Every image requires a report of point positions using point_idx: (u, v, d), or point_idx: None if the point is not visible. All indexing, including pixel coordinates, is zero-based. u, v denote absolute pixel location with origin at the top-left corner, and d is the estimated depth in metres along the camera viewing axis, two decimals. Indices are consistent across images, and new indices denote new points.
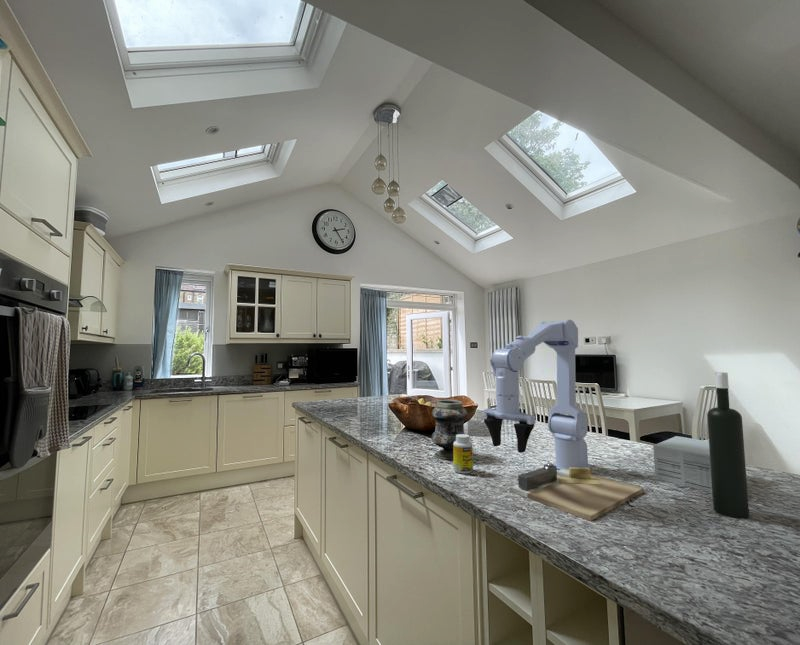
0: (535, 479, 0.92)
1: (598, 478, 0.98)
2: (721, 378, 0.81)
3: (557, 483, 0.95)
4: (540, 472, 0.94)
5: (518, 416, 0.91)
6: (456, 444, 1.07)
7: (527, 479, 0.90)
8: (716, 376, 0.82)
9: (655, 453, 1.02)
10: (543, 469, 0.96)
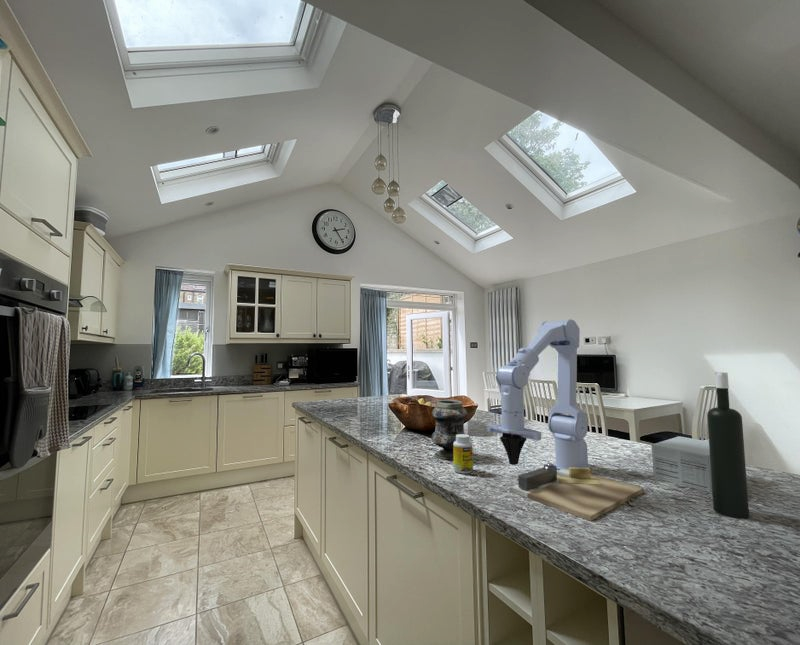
0: (535, 479, 0.92)
1: (598, 478, 0.98)
2: (721, 378, 0.81)
3: (557, 483, 0.95)
4: (540, 472, 0.94)
5: (525, 432, 0.93)
6: (456, 444, 1.07)
7: (527, 479, 0.90)
8: (716, 376, 0.82)
9: (653, 452, 1.02)
10: (543, 469, 0.96)
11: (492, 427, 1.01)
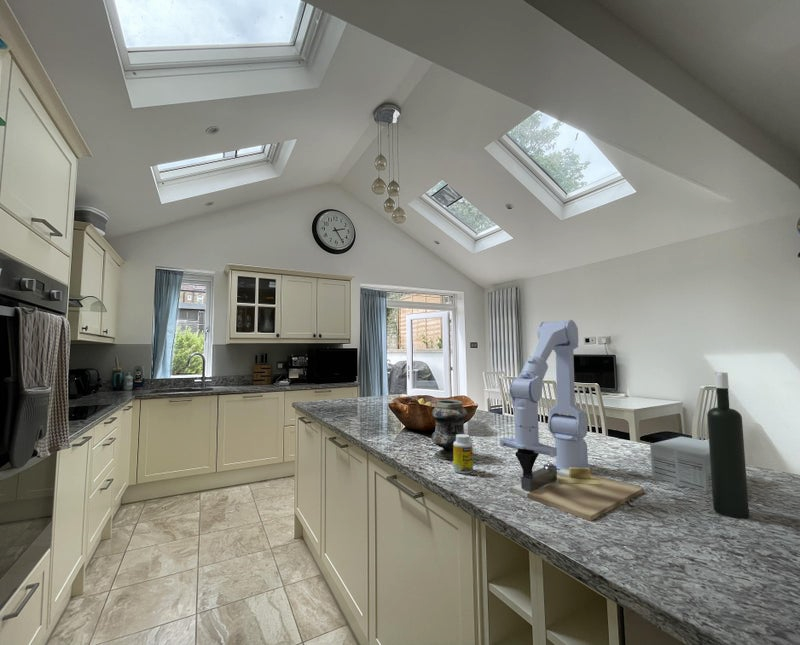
0: (537, 479, 0.91)
1: (598, 478, 0.98)
2: (721, 378, 0.81)
3: (557, 483, 0.95)
4: (542, 472, 0.94)
5: (540, 448, 0.90)
6: (456, 444, 1.07)
7: (530, 480, 0.89)
8: (716, 376, 0.82)
9: (652, 452, 1.03)
10: (544, 469, 0.96)
11: (505, 441, 0.98)
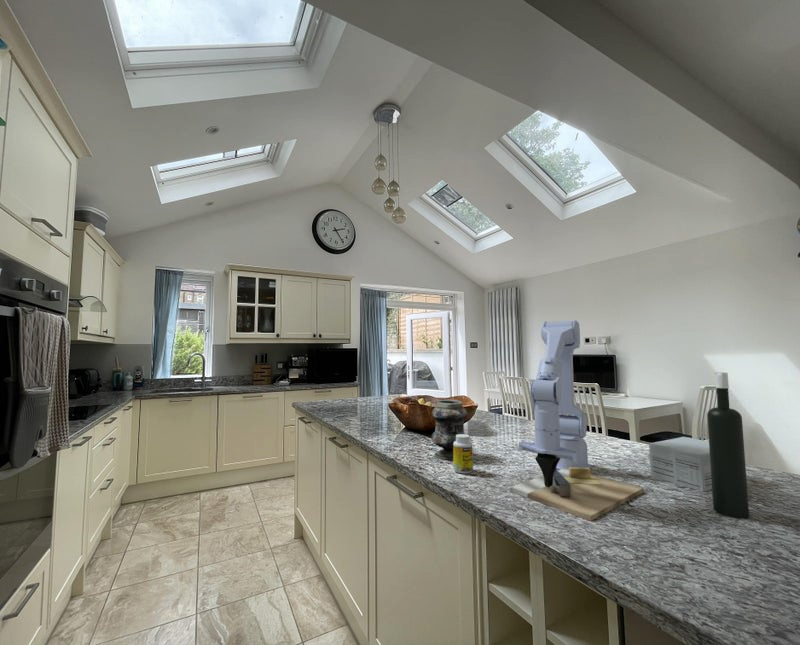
0: None
1: (598, 478, 0.98)
2: (721, 378, 0.81)
3: None
4: (559, 474, 0.92)
5: (562, 453, 0.86)
6: (456, 444, 1.07)
7: None
8: (716, 376, 0.82)
9: (650, 451, 1.03)
10: None
11: (524, 446, 0.94)
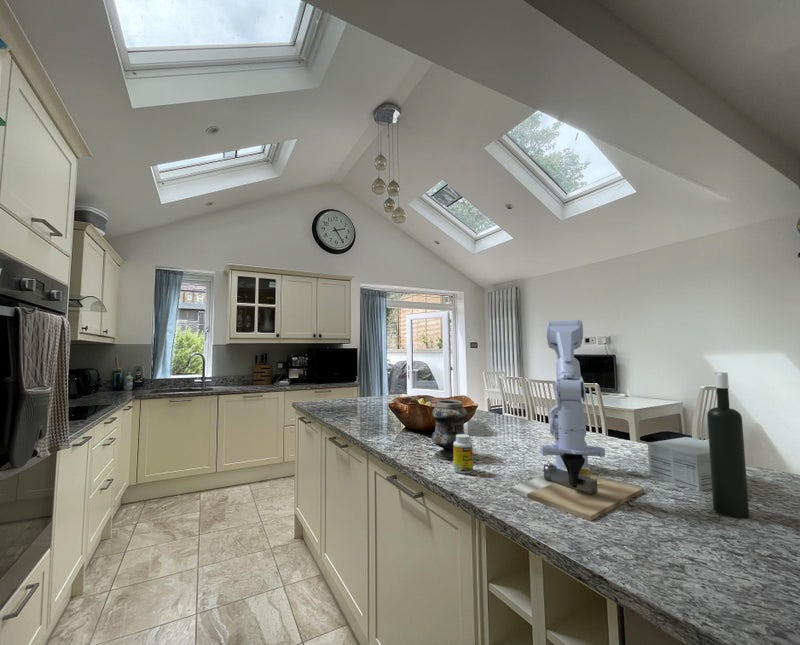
0: None
1: (598, 478, 0.98)
2: (721, 378, 0.81)
3: (557, 483, 0.95)
4: None
5: (593, 450, 0.88)
6: (456, 444, 1.07)
7: None
8: (716, 376, 0.82)
9: (649, 450, 1.04)
10: (558, 470, 0.95)
11: (550, 450, 0.89)
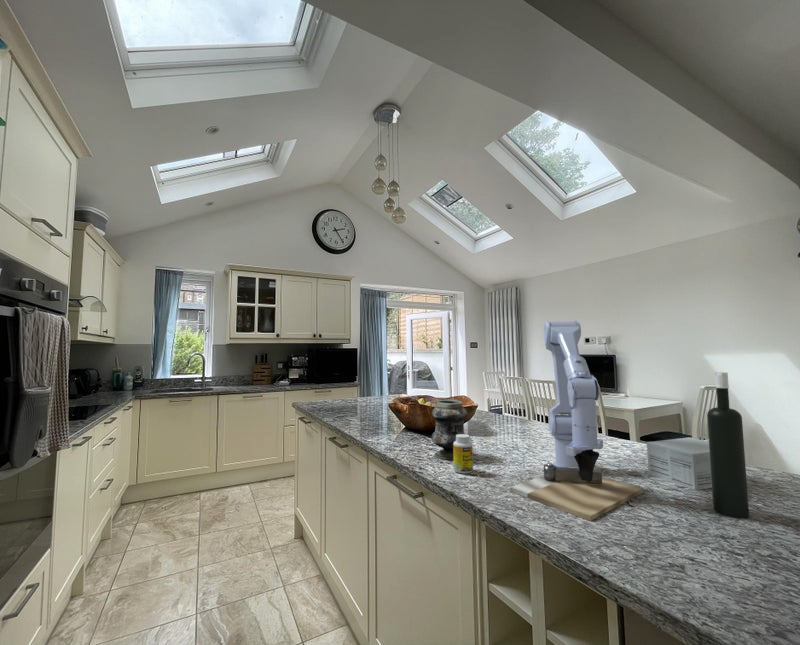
0: None
1: None
2: (721, 378, 0.81)
3: (557, 483, 0.95)
4: (571, 468, 0.97)
5: (600, 443, 0.95)
6: (456, 444, 1.07)
7: None
8: (716, 376, 0.82)
9: (648, 450, 1.05)
10: (561, 468, 0.97)
11: (578, 449, 0.90)
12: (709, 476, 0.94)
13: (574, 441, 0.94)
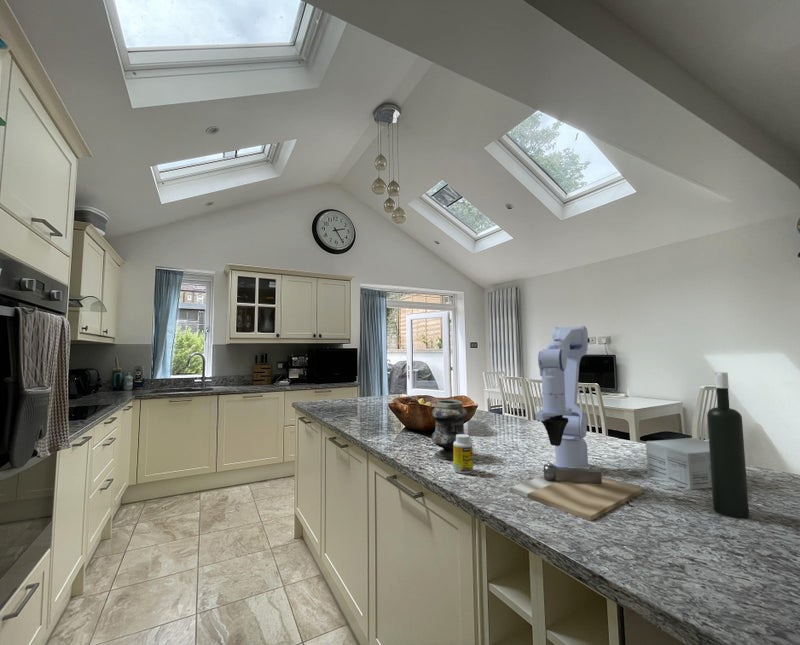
0: None
1: None
2: (721, 378, 0.81)
3: (557, 483, 0.95)
4: (571, 468, 0.97)
5: (568, 410, 1.01)
6: (456, 444, 1.07)
7: None
8: (716, 376, 0.82)
9: (647, 449, 1.06)
10: (561, 468, 0.97)
11: (547, 414, 0.95)
12: (706, 476, 0.94)
13: (544, 408, 0.99)
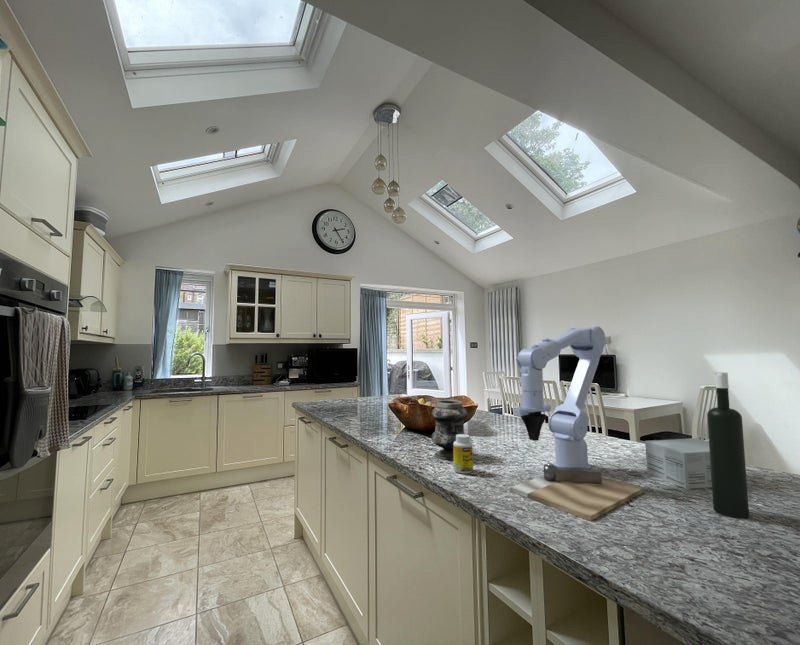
0: None
1: None
2: (721, 378, 0.81)
3: (557, 483, 0.95)
4: (571, 468, 0.97)
5: (547, 407, 1.06)
6: (456, 444, 1.07)
7: None
8: (716, 376, 0.82)
9: (646, 448, 1.06)
10: (561, 468, 0.97)
11: (525, 410, 1.01)
12: (703, 476, 0.94)
13: (523, 405, 1.05)
